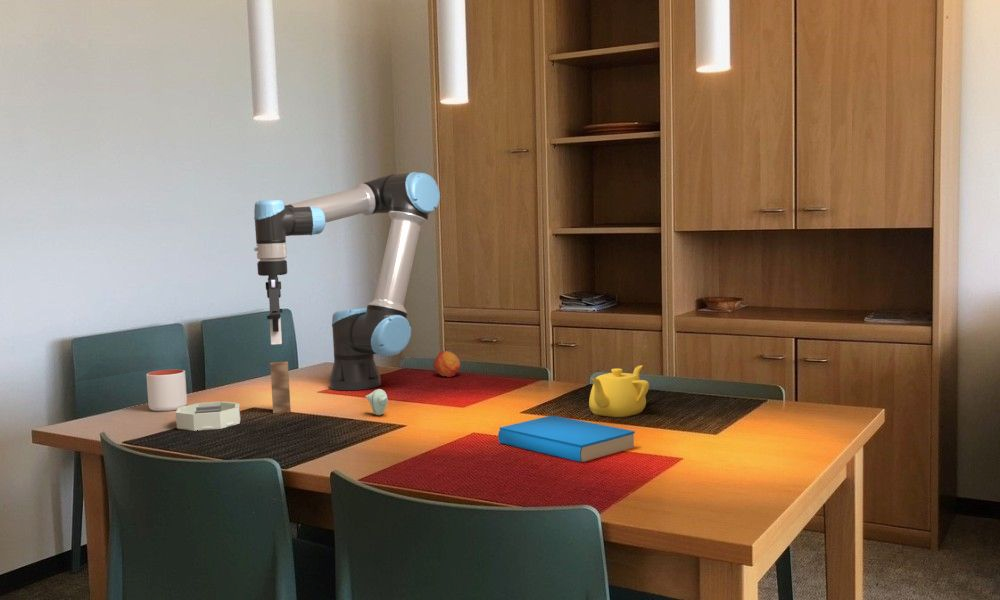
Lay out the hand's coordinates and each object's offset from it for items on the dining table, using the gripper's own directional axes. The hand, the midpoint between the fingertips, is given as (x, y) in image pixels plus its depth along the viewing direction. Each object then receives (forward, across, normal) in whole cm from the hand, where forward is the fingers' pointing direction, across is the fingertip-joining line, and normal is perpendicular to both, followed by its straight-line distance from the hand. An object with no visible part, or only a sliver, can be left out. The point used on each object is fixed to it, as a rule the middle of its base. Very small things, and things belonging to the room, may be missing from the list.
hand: (276, 341), depth 258 cm
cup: (+19, -16, -30) cm, 39 cm away
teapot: (+19, +34, +83) cm, 92 cm away
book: (+19, +62, +60) cm, 88 cm away
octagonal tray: (+19, +8, -18) cm, 27 cm away
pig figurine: (+19, +15, +24) cm, 34 cm away
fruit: (+19, -35, +51) cm, 65 cm away
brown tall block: (+19, 0, 0) cm, 19 cm away
